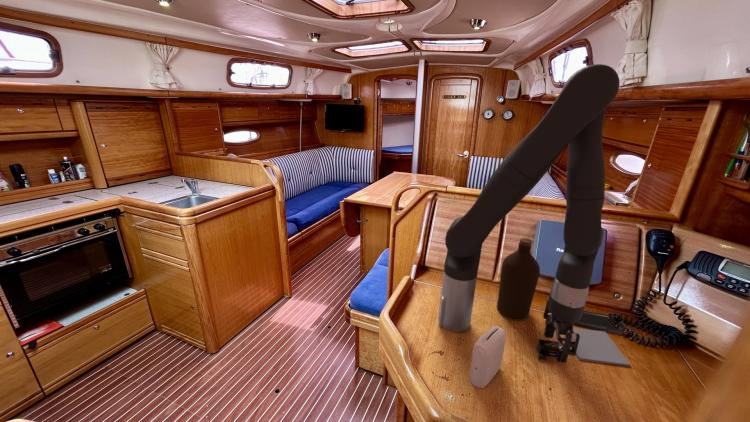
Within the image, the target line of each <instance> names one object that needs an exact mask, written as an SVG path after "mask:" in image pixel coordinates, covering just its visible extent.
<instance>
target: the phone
mask: <svg viewBox="0 0 750 422" xmlns="http://www.w3.org/2000/svg"><path fill="white" fill-rule="evenodd" d="M609 316H611V315H610V314H603V313H598V312H593V311H587V310H583V314H582V317H581V319H580V320H579V321H576V322H575V323H573V326H576V327H577V326H578V327H581V328H587V329H590V330H595V331H603V332H606V333H611V334H617V335H622V336H624V335H623V334H622V333H623V332H620V331H619V330H618V329H617V328H615V327H614V326H612V325H611V324H610V323H609V322H608V320H607V318H608V317H609ZM618 325H620V326H622V327H624V328H626V329H627V330H629V328H628V327H627V326H626V324H625V322H624V321H623V320H622V321H620V322H618Z"/></svg>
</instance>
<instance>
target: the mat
mask: <svg viewBox="0 0 750 422" xmlns="http://www.w3.org/2000/svg"><path fill="white" fill-rule="evenodd" d="M573 331H574V333H577V334H579V335H580V339H579V343H578V347H577V351H576V355H575V357H577V358H578V359H577V360H578V361H585V362H586V361H587V362H591V363H592V362H593V363H602V364H609V365H614V366H615V365H617V366H625V367H631V363H630V362H629V360H628V359H627V357H625V355H624V354H623V353H622V351H621V350H620V349H619V347H618V346H617V345H616V344H615V342H614V341H613V340H612V339H611V337H610V336H609V335H608V332H606V331H601V330H596V329H585V328H576V327H573Z"/></svg>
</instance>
